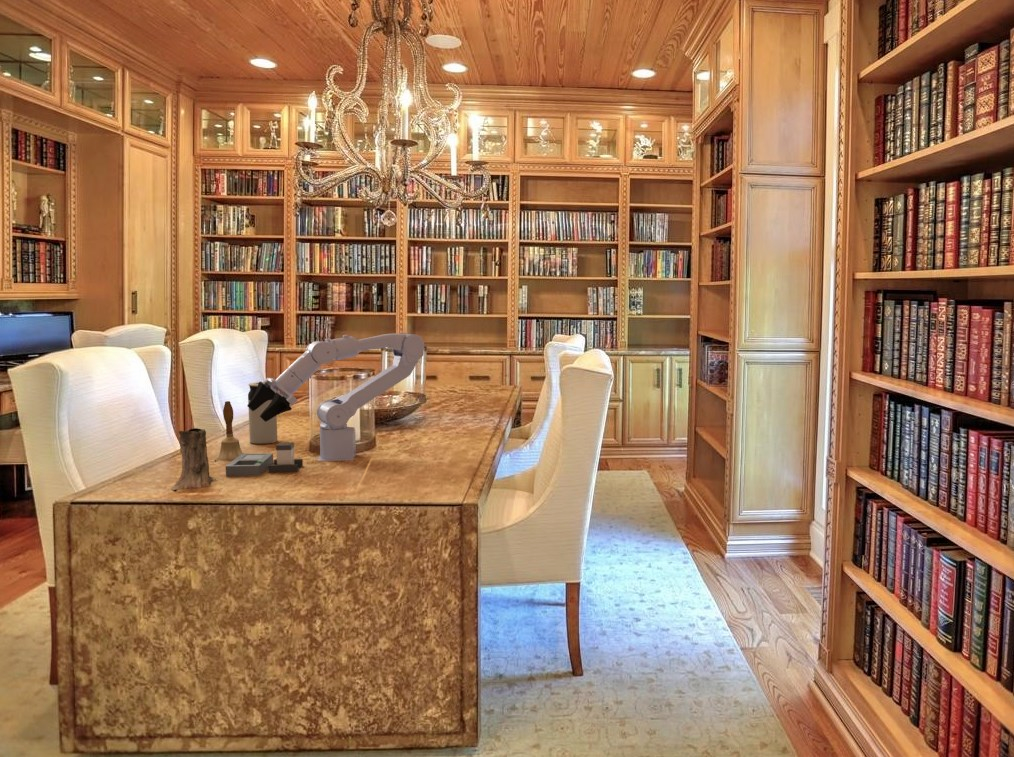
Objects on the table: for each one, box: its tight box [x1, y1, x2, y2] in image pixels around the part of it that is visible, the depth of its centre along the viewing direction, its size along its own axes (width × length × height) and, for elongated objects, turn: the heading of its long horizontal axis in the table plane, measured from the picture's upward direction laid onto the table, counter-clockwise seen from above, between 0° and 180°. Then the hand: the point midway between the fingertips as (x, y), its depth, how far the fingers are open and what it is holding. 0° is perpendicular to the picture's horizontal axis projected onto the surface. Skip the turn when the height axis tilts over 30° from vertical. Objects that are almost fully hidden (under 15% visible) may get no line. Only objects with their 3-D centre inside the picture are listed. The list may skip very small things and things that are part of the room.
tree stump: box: [170, 427, 218, 491], centre depth 168 cm, size 10×10×13 cm
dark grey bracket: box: [267, 458, 304, 474], centre depth 183 cm, size 7×7×2 cm
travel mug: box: [247, 381, 278, 445], centre depth 218 cm, size 8×8×18 cm
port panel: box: [225, 452, 274, 477], centre depth 183 cm, size 8×14×3 cm, turn 5°
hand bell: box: [214, 400, 245, 462], centre depth 195 cm, size 8×8×16 cm
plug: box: [275, 441, 295, 465], centre depth 182 cm, size 4×4×6 cm
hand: (256, 413), depth 185 cm, fingers open, 7 cm apart
